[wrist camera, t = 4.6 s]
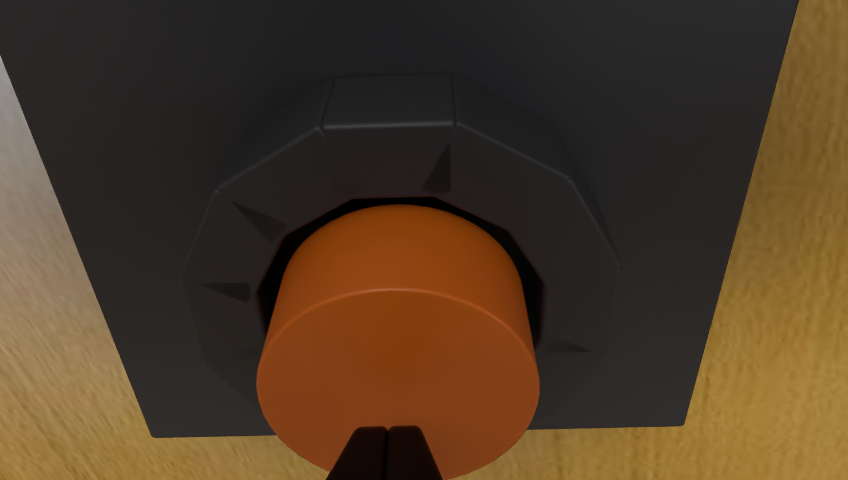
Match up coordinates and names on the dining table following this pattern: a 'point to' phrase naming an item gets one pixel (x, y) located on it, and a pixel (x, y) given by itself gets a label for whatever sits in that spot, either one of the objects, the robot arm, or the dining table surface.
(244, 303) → the switch base
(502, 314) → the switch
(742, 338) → the dining table surface
